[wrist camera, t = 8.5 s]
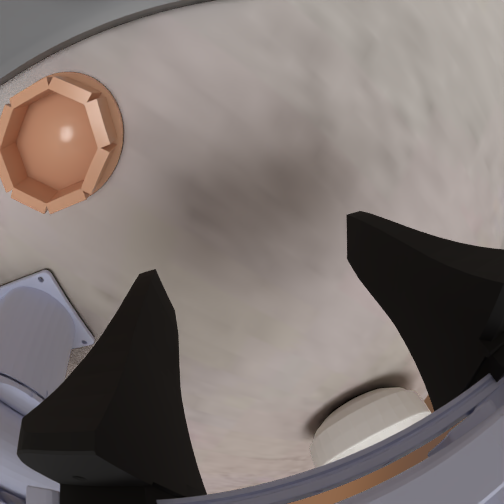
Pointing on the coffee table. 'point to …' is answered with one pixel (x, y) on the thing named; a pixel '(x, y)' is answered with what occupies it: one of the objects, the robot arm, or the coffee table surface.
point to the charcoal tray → (62, 25)
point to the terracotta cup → (59, 141)
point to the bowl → (366, 423)
